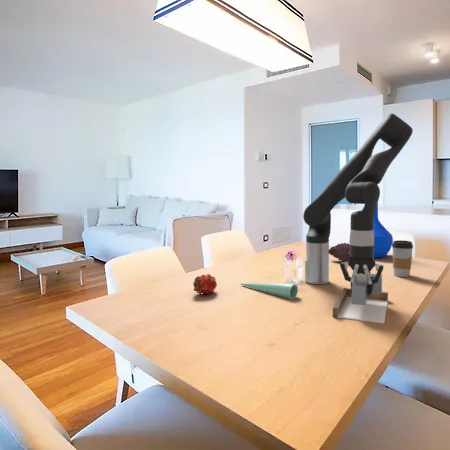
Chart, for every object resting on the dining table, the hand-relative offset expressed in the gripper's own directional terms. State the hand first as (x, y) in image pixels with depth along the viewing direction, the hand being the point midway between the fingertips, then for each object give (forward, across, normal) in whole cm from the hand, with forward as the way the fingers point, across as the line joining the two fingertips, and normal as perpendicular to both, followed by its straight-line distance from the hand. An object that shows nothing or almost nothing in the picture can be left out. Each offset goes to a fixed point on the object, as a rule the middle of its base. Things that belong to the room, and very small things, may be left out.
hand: (361, 293), depth 122 cm
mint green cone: (+5, +36, -7) cm, 37 cm away
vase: (+5, +2, -87) cm, 87 cm away
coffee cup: (+5, -12, -49) cm, 50 cm away
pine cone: (+5, +15, -68) cm, 70 cm away
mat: (+5, -1, +1) cm, 5 cm away
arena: (+5, 0, 0) cm, 5 cm away
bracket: (+1, -2, +1) cm, 2 cm away
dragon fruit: (+5, +57, +4) cm, 58 cm away
